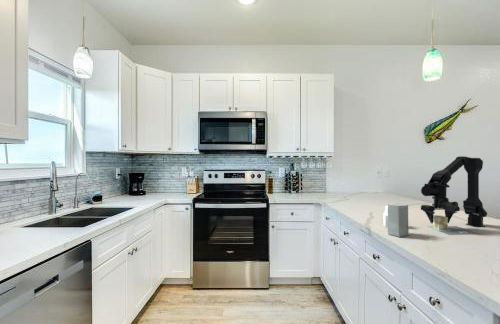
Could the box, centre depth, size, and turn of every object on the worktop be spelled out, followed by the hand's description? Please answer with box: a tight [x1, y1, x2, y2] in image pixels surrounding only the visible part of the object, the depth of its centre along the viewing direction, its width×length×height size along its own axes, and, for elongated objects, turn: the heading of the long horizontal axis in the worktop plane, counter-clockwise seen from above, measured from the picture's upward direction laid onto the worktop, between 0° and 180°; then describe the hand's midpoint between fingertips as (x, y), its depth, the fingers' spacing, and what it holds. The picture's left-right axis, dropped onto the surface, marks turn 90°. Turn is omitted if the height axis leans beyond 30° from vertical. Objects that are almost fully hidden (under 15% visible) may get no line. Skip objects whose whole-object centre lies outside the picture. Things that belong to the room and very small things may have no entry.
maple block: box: [431, 214, 449, 231], centre depth 149 cm, size 5×5×7 cm
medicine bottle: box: [382, 205, 388, 229], centre depth 155 cm, size 7×7×12 cm
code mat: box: [428, 225, 481, 236], centre depth 146 cm, size 18×16×1 cm
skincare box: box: [387, 203, 409, 238], centre depth 138 cm, size 8×7×16 cm
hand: (439, 223), depth 149 cm, fingers open, 9 cm apart
